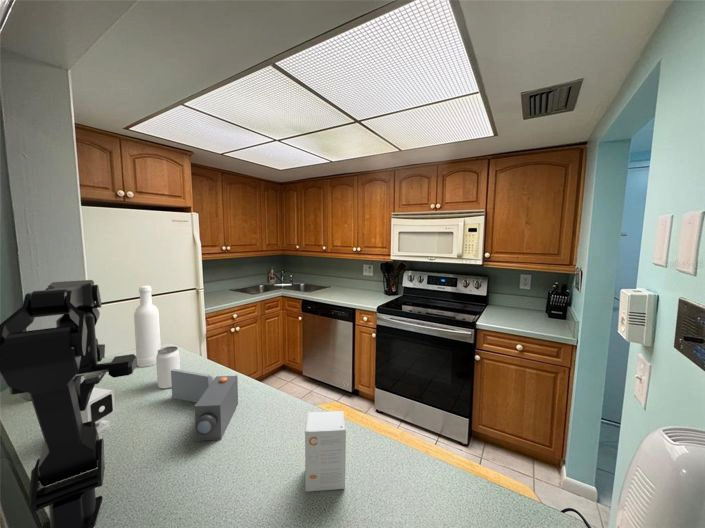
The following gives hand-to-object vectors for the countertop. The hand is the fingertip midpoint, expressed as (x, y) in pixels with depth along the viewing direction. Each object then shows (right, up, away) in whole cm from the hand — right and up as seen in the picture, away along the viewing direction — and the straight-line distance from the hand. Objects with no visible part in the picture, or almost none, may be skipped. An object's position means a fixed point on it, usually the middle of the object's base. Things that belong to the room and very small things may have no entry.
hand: (83, 410), depth 61 cm
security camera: (-8, -11, +11) cm, 18 cm away
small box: (+52, -14, -1) cm, 54 cm away
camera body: (+21, -11, +15) cm, 28 cm away
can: (-3, -9, +34) cm, 35 cm away
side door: (+9, -10, +25) cm, 28 cm away
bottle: (-21, -7, +49) cm, 53 cm away
